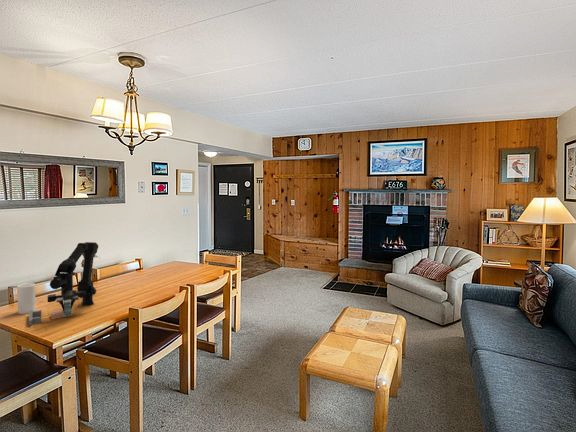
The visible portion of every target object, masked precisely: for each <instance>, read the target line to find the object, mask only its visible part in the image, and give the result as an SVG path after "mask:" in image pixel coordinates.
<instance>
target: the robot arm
mask: <svg viewBox="0 0 576 432" xmlns="http://www.w3.org/2000/svg"><path fill="white" fill-rule="evenodd" d="M98 249H99V244H98V243H97V242H91V241H89V242H88V241H85V242H78V243H77V244H76V247H75V249H73V251H72V253H71V254H70V255H69V256H68V258H66V259H64V260H63V261H62V262H61V263H60V264H59V265H58V267H57V269H56V271H55V273H54V276H53V277H52V278H53V279H51V280H50V282H49V287H50V288H51V289H52V290H57V289H60V294H59V295H57V294H56V293H55V294H54V293H52V294H48V295H47V298H46V299H47V303H52V302H56V303H59V304H60V306H61V307H62V309H61V310H63V311H64V301H66V300H70V303H71V310H73V306H74V304H75V302H76V301H77V300H79V298H80V299H81V302H80V304H81V306H88V305H94V304H95V302H94V301H93V299H94V297H93V296H94V295H96V293H97V289H96V288H95V286H94V282H93V280H92V274H93V273H92V272H93V264H94V258H95V257H94V255H96V254H97V252H98ZM83 253H84V255H85V260H84V268H83V267H82V268H83V270H82V278H81V279H80V280H79V281H78V282H77V287H76V289H74V288H73V287H74V283H73V282H74V281H73V279H74V277H73V276H74V275H76V274H75V271H76V268H77V262H79V259H80V258H81V257H82V256H83V255H82V254H83ZM77 291H78V293H77ZM78 296H79V297H78Z"/></svg>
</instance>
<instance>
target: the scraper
mask: <svg viewBox="0 0 576 432" xmlns="http://www.w3.org/2000/svg"><path fill="white" fill-rule="evenodd" d="M63 304H64V317H63V318H66V317H72V309H71V300H66V301H64V300H63Z"/></svg>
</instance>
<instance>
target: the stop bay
mask: <svg viewBox="0 0 576 432" xmlns="http://www.w3.org/2000/svg"><path fill="white" fill-rule="evenodd" d="M41 323H42V310H40V309H39V310H35V311H33V310H30V311H29V313H28V327H32V326H33V325H35V324H36V325H37V324H41Z"/></svg>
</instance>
